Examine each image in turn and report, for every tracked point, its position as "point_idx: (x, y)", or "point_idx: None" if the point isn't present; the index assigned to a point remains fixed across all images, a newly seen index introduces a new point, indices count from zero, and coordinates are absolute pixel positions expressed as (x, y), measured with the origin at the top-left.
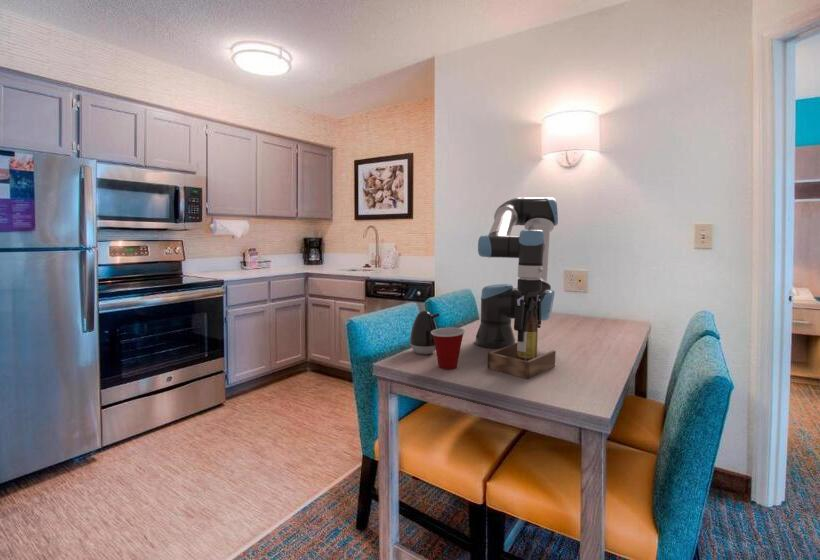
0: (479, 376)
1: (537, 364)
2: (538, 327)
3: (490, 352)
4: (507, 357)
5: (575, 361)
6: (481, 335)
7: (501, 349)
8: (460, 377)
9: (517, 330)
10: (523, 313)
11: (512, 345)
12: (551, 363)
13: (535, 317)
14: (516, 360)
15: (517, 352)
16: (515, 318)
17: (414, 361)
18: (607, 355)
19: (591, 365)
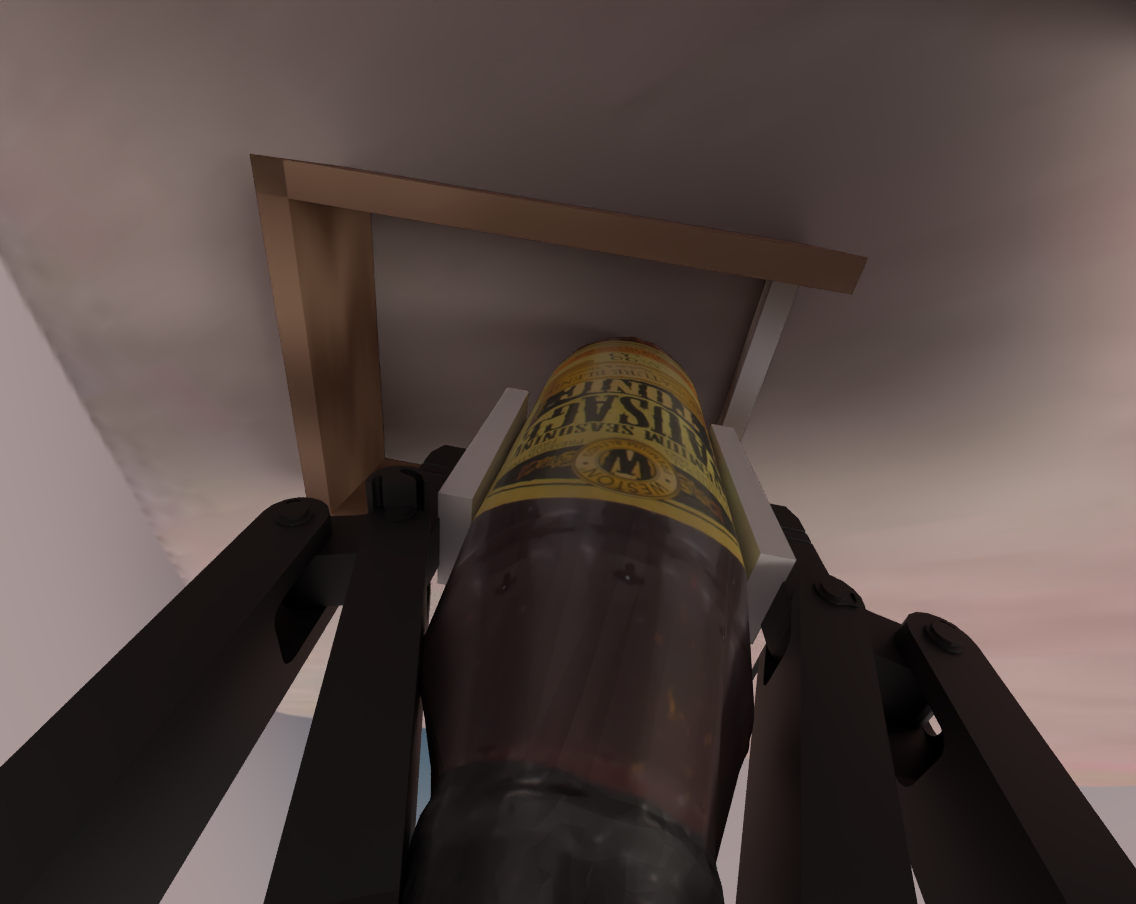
0: (159, 207)
1: None
2: (754, 666)
3: (285, 170)
4: (288, 379)
5: (865, 603)
6: None
7: (473, 222)
8: (15, 87)
9: (353, 520)
10: (141, 902)
11: (713, 259)
12: None
13: (745, 810)
14: (301, 449)
15: (568, 361)
16: (134, 661)
17: None
18: (1088, 712)
19: None
